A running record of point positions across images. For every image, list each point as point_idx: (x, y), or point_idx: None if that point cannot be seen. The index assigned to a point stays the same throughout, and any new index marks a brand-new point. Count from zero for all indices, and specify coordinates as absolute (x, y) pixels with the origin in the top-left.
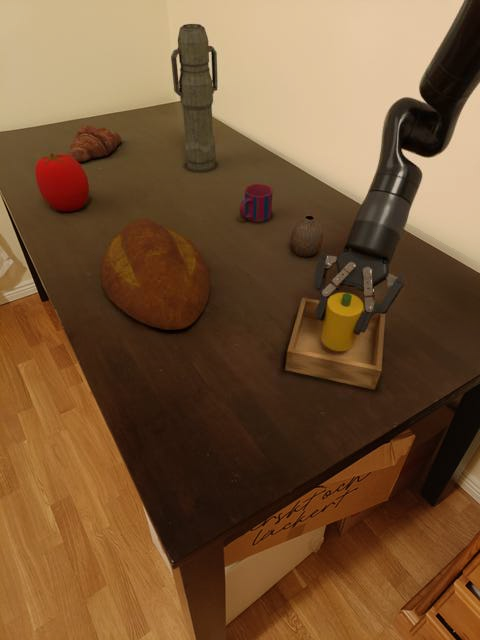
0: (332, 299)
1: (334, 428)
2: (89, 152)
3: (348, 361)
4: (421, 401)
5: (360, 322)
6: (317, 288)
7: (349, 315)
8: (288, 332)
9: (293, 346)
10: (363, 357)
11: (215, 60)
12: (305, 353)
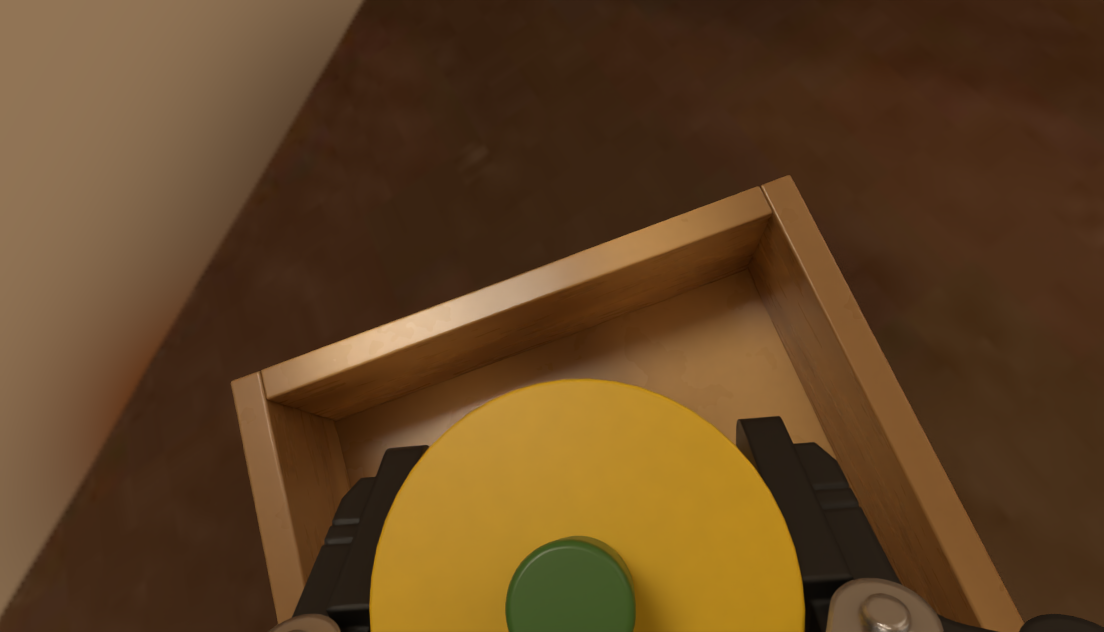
0: (749, 575)
1: (402, 124)
2: None
3: (426, 329)
4: (104, 483)
5: (380, 512)
6: (1035, 628)
7: (459, 429)
8: None
9: (782, 229)
10: None
11: None
12: (683, 225)
